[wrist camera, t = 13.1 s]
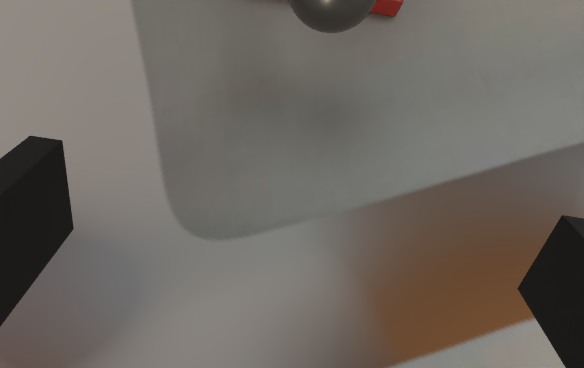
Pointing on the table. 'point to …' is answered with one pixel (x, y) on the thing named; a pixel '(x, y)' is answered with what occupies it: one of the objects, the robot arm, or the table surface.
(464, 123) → the table surface
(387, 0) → the bracket
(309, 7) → the lever
